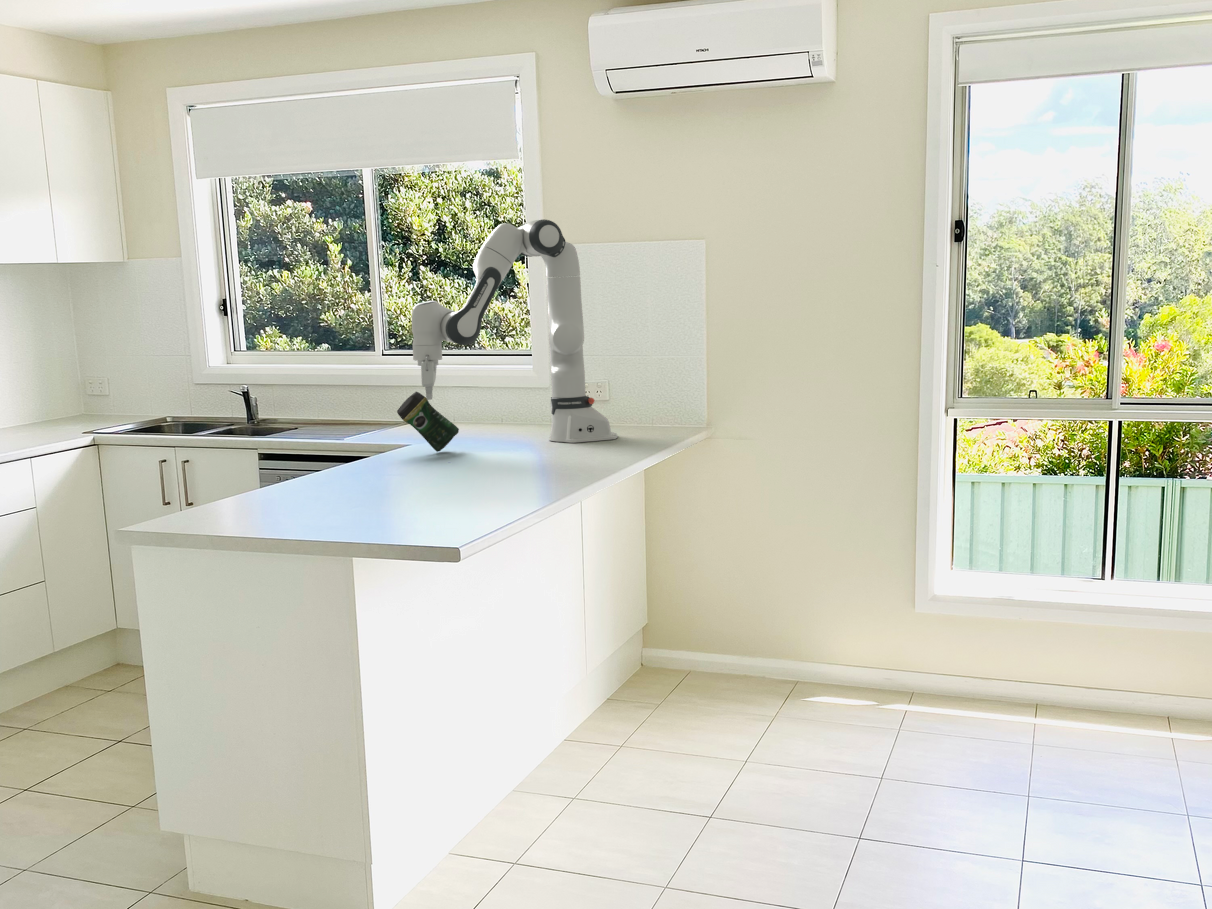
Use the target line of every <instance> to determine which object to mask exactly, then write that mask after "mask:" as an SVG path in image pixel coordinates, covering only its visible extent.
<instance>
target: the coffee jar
mask: <svg viewBox="0 0 1212 909" xmlns="http://www.w3.org/2000/svg"><path fill="white" fill-rule="evenodd" d="M396 412H397V415H398V416H399V417H400V419H401V420H402V421H403V422H405V423H407V425H408V424H409V425H410V426H412V428H413V429H414V430H416V431H417V432H418V433H419V435H421V437H422V438H423V439H424V440H425V441H426V442H427V443H428V444H429V445H430V447H432V449H433V450H434V451H435V452H436V453H438V452H441V451H442V450H443V449H444V448H446V447H447V445H449V443H450V442H451V441H452V440H453V438H454V437H456V436H457V435H458V434H459V431H460V429H459V427H458V426H457V425H455V423H453V422H452V421H450V420H449V419H448V418H446V416H444V415H442V414H441V412H439V411H438V410H437V409H436V408H434V407H433V406H432V404H431V403H430V402H429V400H427V399H426V397H425V395H424V394H422V393H420V392H418V391H415V392H413V393H412V394H411V395H410V396H408V398H406V399H405V401H403V402H402V404H401V405H400V407H398V408H397V411H396Z"/></svg>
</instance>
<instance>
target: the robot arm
mask: <svg viewBox="0 0 1212 909" xmlns="http://www.w3.org/2000/svg"><path fill="white" fill-rule="evenodd" d="M520 255H521V256H524V257H541V259H542V260H543V263H544V266H545V280H546V282H545V284H546V300H547V313H548V314H547V315H548V330H549V331H548V346H549V347H548V349H549V364H550V366H549V367H550V381H551V384H550V385H551V397H550V412H551V426H550V427H551V428H550V434H549V438H548V440H549V441H551V442H557V443H558V442H559V443H574V444H575V443H584V442H586V443H587V442H596V441H598V442H599V441H610V440H616V439H618V434H617V432H613V431H612V430H611V424H610V421H609V420H608V418H607V417H606V416H605V415H603V414H602V413H601V412H600V411H598V410H596V408H594V407H593V405H594V403H595V399H594V398H593V397H590V396H588V395H586V394H587V393H586V371H585V360H584V348H583V347H584V346H583V345H584V342H585V330H584V316H583V304H582V303H583V302H582V285H581V270H580V268H581V267H580V261H579V260H580V259H579V254H578V252H577V249H576V247H575V245H574V244H572V243H570V242H567V241H566V239H565V237H564V236H563V232H562V230H561V228H560V227H559V225H558V224H557V223H555V221H552V220H550V219H546V218H545V219H536V220H531V221H529V222H528V223H523V224H521V225H519V226H518V227H516V226H515V225H513V224H512V223H507V222H506V223H505V222H504V223H500V224H498V225H497V227H495V228H494V230H492V232H491V233H490V234H489V236H487V238H486V239H485V240H484V242H483V244H482V245H481V247H480V249H479V250H478V252H477V254H476V256H475V259H474V261H473V264H472V270H473V273H474V275H475V278H476V281H475V285H474V287H473V289H472V291H471V293H470V294H469V297H468V298H467V300H466V302H465V304H464V306H463V307H462V308H461V309H459V310H458V311H456V310H452V309H450V308H448V307H446V306H444V305H442V304H440V303H439V302H438V301H436V300H427V301H423V302H419V303H416V304H415V305H414V306H413V309H412V312H411V332H412V335H413V340H412V361H414V362H415V361H417V366H418V367H420V370H421V371H420V374H421V386H422V387H425V388H424V389H425V396H426V399H427V400H428V401H429V400H430V401H431V400H433V389H434V388H433V387H434V386H435V383H436V378H437V366H439V361H440V360H443V347H442V346H443V345H442V343H443V341H445V342H449V343H452V344H457V345H460V346H468V345H470V344H472V343H474V342H475V341H476V340H477V339H478V337H479V335H480V332H481V327H482V321H483V318H484V315H485V313H486V311H487V309H488V308H489V306H490V304H491V301H492V300H493V298H494V296H495V294H496V292H497V290H498V288H499V286H500V285H501V284H502V281H503V280H504V279H505V277H506V276H507V274H508V273H509V271H510V270H511V268H512V266H513V265H514V262H515V261H516V259H517V258H518V257H519V256H520Z"/></svg>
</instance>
